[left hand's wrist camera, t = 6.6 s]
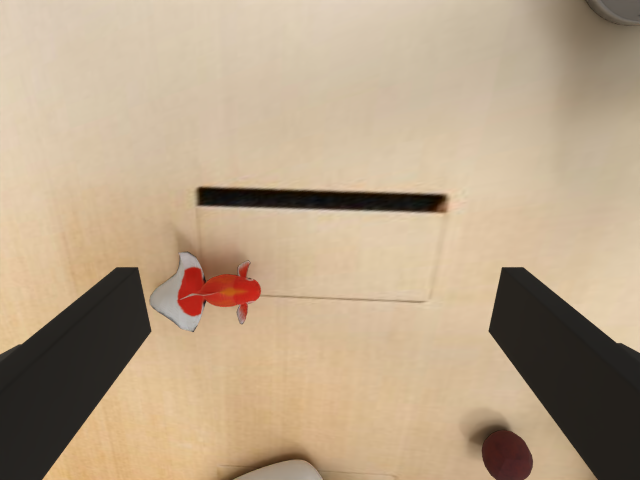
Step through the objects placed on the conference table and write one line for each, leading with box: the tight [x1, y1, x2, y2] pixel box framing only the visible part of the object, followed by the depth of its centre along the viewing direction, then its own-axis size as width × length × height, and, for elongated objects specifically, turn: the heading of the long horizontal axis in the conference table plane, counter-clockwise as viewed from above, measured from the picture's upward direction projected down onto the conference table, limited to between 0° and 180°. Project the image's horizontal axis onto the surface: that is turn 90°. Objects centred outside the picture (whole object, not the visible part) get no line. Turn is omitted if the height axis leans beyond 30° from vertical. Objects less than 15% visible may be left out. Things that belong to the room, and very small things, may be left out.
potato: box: [482, 430, 533, 480], centre depth 57 cm, size 7×8×7 cm
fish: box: [150, 252, 261, 332], centre depth 45 cm, size 11×16×10 cm
